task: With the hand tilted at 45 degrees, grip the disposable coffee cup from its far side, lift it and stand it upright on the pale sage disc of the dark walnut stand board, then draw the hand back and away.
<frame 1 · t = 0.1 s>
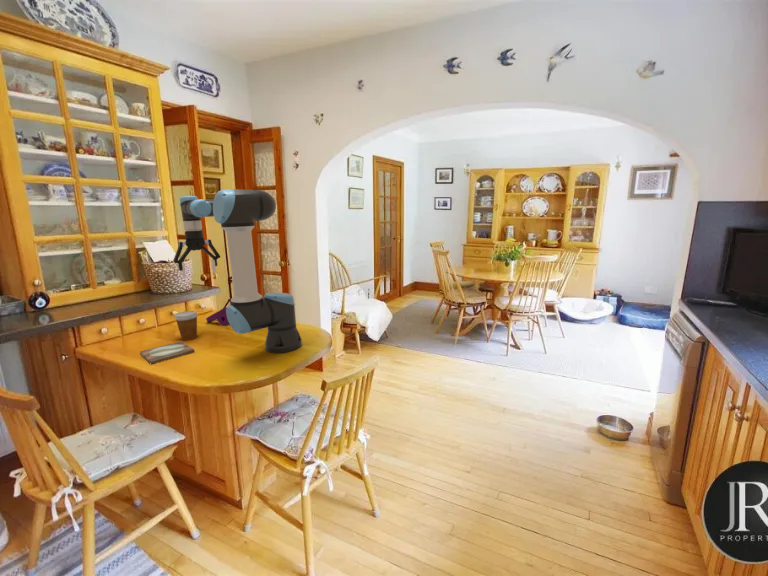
hand: (199, 275, 176), 28 cm above the table, tool pointing down, fingers open, 13 cm apart
disposable coffee cup: (189, 338, 172), on the table
mounting bracket: (223, 322, 196), on the table
holder: (167, 353, 154), on the table
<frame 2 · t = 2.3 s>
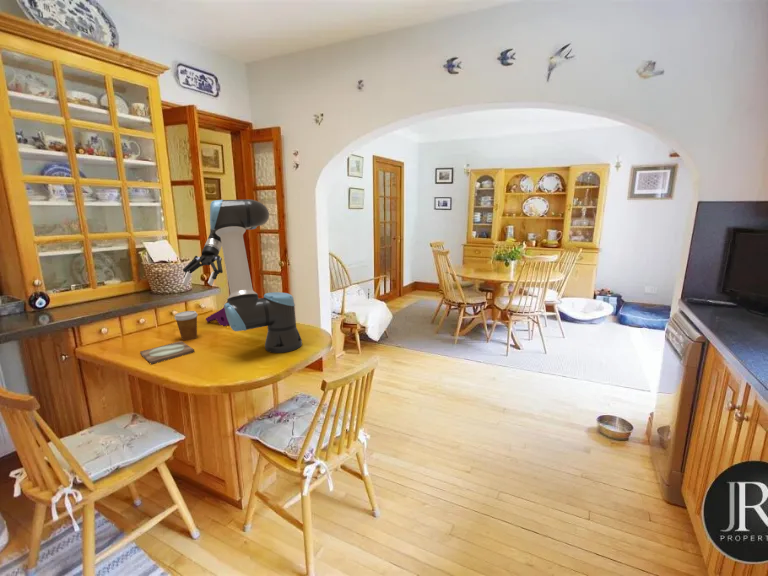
hand: (197, 284, 177), 23 cm above the table, tool tilted 45°, fingers open, 13 cm apart
nothing on the table moved.
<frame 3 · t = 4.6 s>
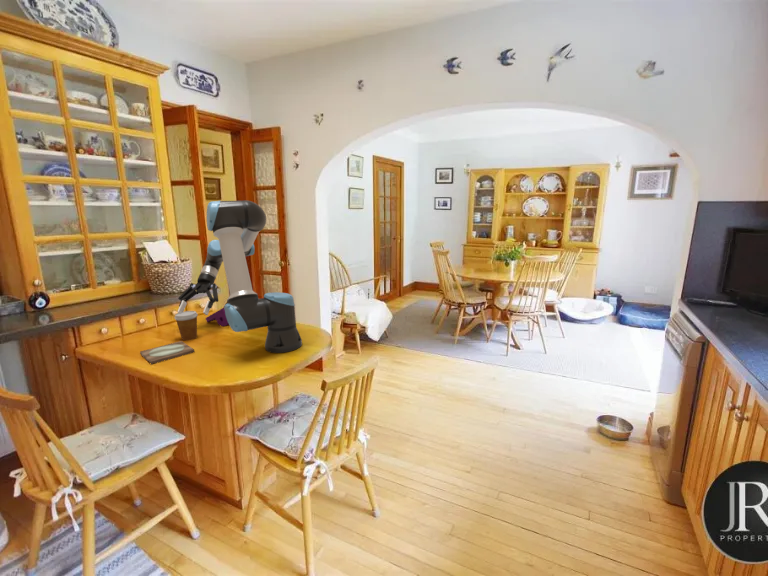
hand: (192, 313, 175), 10 cm above the table, tool tilted 45°, fingers open, 13 cm apart
nothing on the table moved.
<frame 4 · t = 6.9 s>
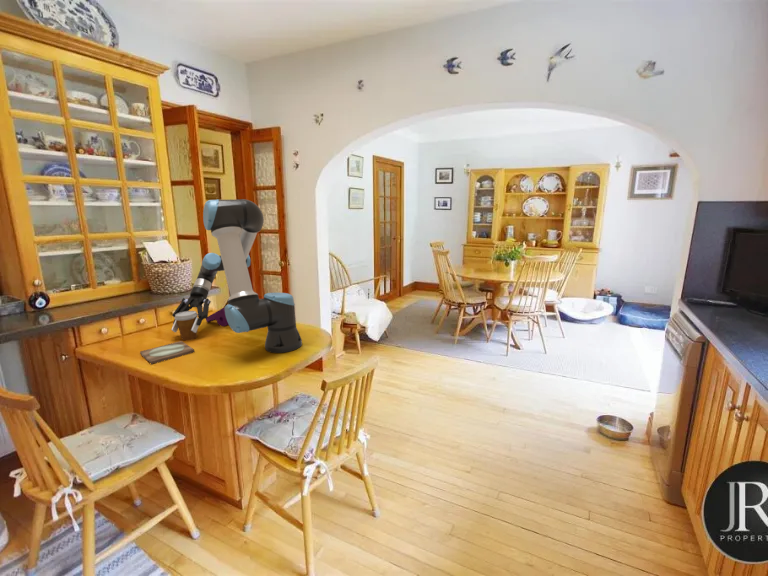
hand: (183, 331, 168), 4 cm above the table, tool tilted 45°, fingers closed on disposable coffee cup, 9 cm apart
disposable coffee cup: (189, 338, 172), on the table, touching gripper
everything else where it was.
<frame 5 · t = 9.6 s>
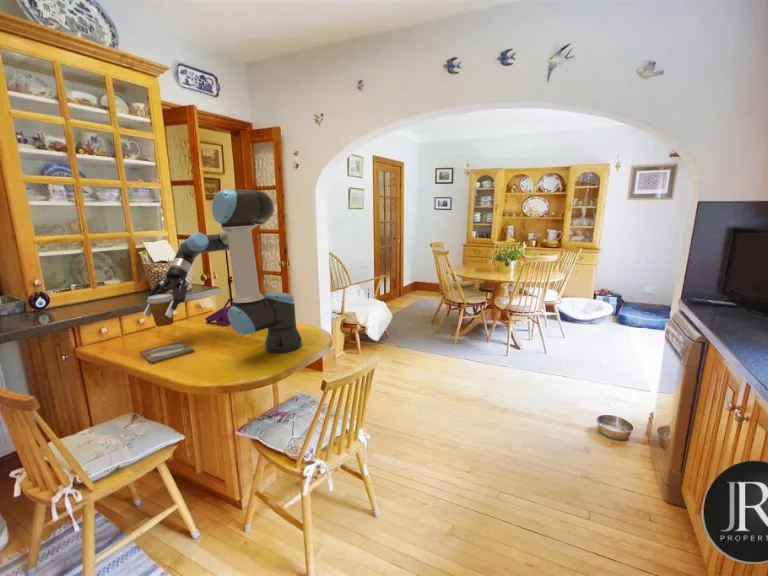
hand: (157, 316, 150), 17 cm above the table, tool tilted 45°, fingers closed on disposable coffee cup, 9 cm apart
disposable coffee cup: (164, 324, 154), point 12 cm above the table, touching gripper
everything else where it was.
when the fingers open (7 cm above the table, at t = 12.6 s): disposable coffee cup drops 1 cm, resting on holder.
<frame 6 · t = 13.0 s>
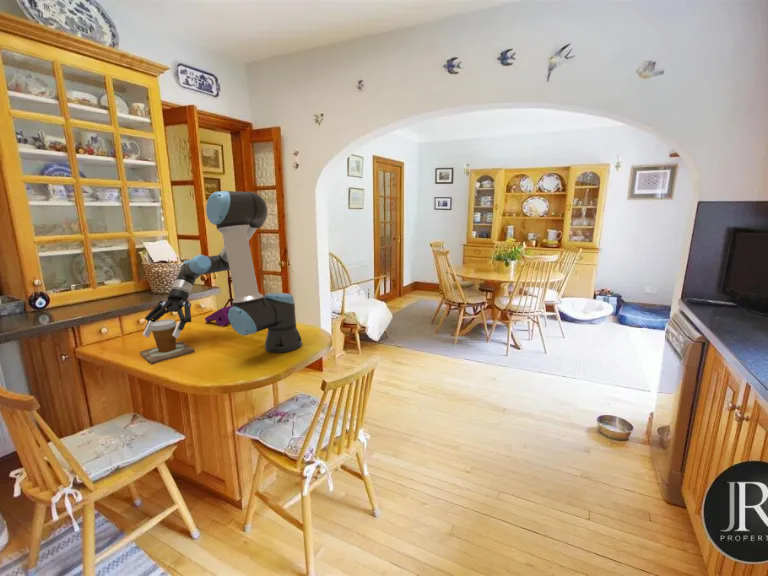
hand: (160, 336, 150), 8 cm above the table, tool tilted 45°, fingers open, 13 cm apart
disposable coffee cup: (167, 350, 154), point 1 cm above the table, touching holder
everything else where it was.
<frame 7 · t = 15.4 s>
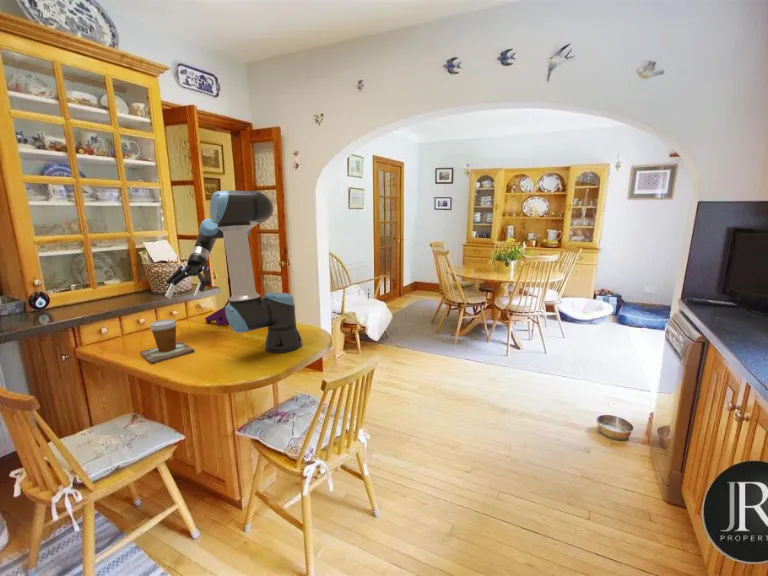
hand: (181, 297, 160), 21 cm above the table, tool tilted 45°, fingers open, 13 cm apart
nothing on the table moved.
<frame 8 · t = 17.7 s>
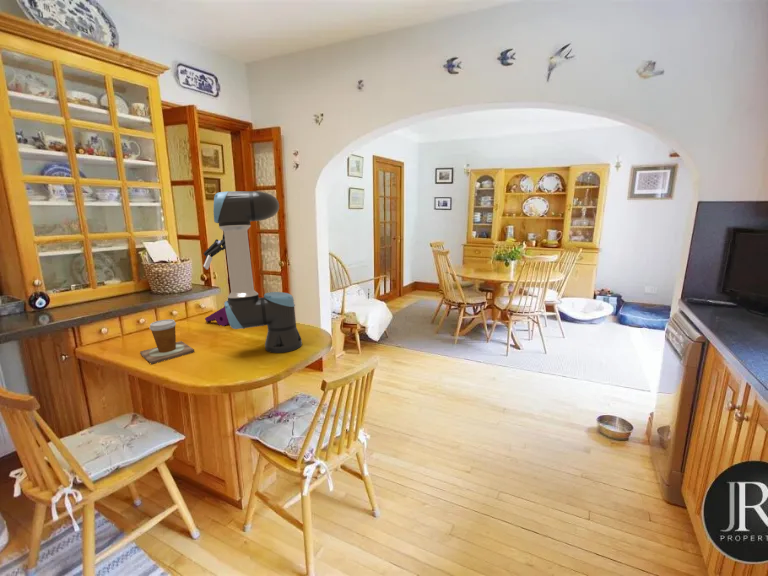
hand: (218, 267, 172), 32 cm above the table, tool tilted 45°, fingers open, 13 cm apart
nothing on the table moved.
at the end: disposable coffee cup inside the target area on the holder (0.2 cm from its centre), point 1.2 cm above the holder's base; disposable coffee cup tilted 1°; the gripper is holding nothing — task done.
